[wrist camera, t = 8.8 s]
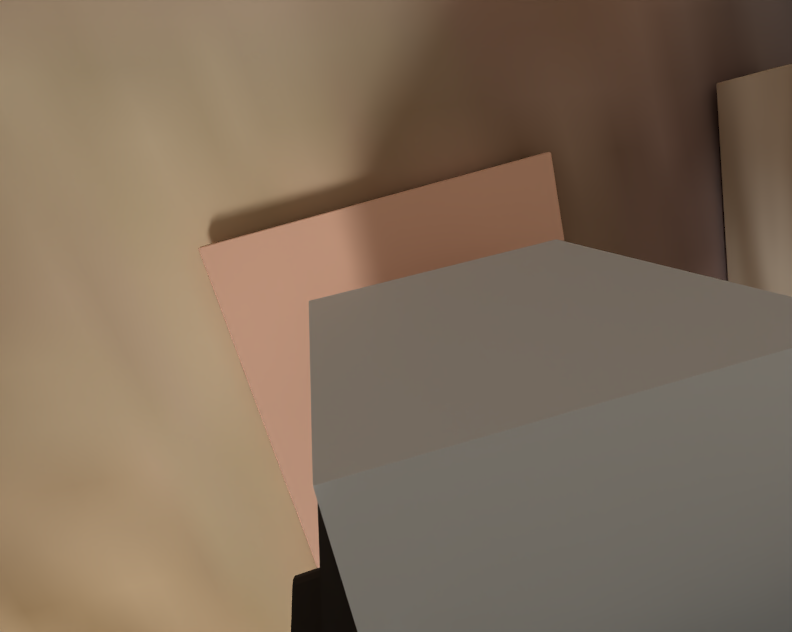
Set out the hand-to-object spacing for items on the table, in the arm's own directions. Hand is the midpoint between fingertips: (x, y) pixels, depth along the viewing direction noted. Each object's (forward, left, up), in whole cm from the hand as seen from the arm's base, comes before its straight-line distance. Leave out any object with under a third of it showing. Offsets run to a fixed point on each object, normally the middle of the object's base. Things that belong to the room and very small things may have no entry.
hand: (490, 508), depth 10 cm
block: (0, 0, -1) cm, 1 cm away
